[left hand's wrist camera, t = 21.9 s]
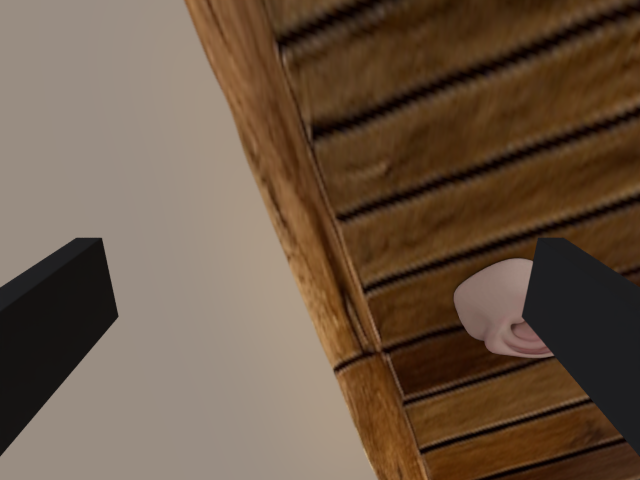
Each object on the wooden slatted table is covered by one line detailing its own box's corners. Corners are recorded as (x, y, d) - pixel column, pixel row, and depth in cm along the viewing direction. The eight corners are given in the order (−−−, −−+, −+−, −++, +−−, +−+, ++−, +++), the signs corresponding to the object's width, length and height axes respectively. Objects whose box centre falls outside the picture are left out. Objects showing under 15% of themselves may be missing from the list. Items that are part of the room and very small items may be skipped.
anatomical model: (445, 328, 42) (532, 247, 38) (435, 307, 45) (514, 232, 42) (530, 392, 45) (618, 322, 41) (514, 368, 48) (594, 302, 45)
